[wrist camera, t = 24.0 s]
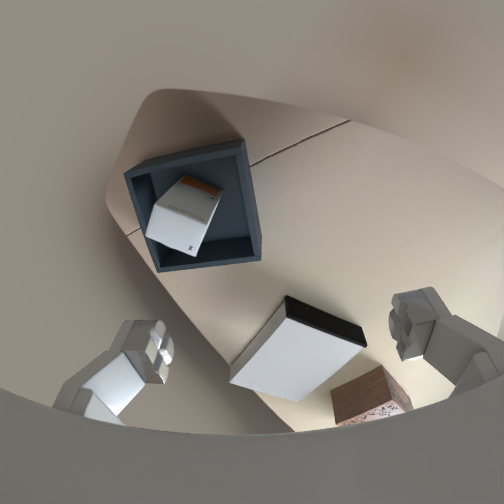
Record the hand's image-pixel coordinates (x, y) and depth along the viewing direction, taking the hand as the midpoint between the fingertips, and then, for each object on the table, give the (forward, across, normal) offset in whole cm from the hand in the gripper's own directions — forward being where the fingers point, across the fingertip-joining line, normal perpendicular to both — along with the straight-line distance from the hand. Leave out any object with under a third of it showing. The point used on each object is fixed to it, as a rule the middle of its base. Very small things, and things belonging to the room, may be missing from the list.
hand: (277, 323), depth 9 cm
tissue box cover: (+31, -21, +64) cm, 74 cm away
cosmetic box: (+30, +10, +4) cm, 32 cm away
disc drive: (+31, 0, +38) cm, 49 cm away
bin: (+31, +10, +5) cm, 33 cm away
